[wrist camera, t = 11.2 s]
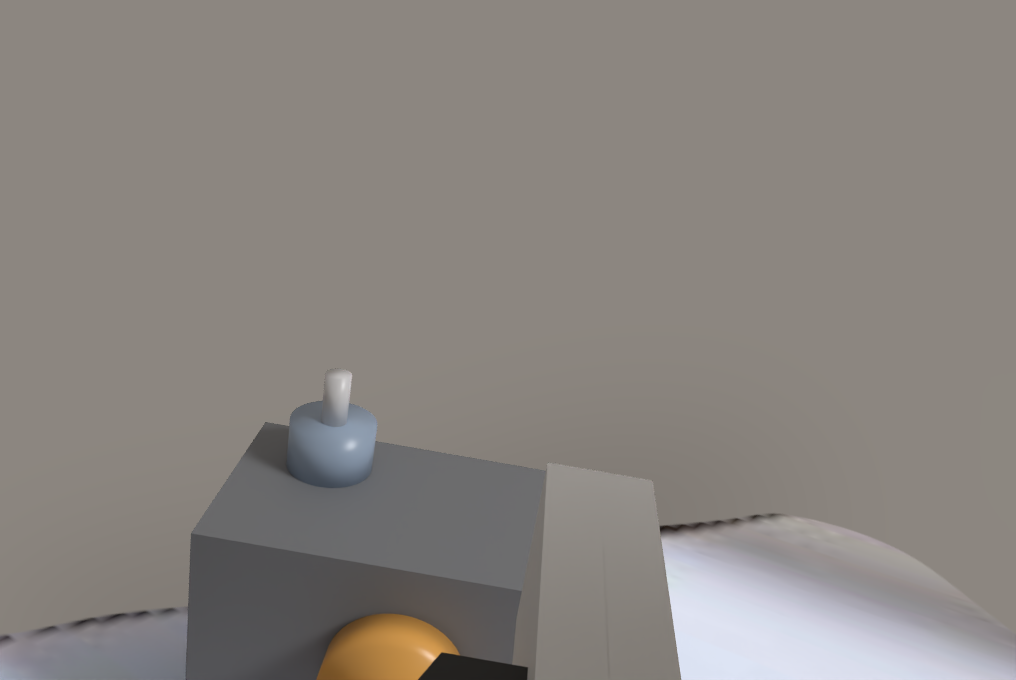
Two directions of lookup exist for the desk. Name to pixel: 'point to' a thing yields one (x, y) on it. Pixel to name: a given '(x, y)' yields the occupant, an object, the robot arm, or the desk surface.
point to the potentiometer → (331, 437)
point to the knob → (383, 649)
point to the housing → (355, 558)
